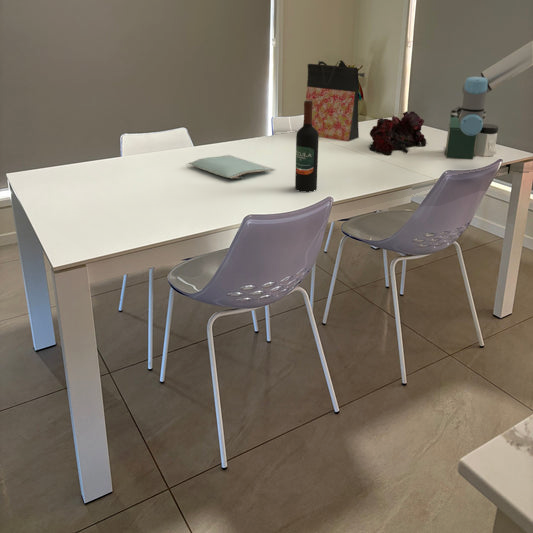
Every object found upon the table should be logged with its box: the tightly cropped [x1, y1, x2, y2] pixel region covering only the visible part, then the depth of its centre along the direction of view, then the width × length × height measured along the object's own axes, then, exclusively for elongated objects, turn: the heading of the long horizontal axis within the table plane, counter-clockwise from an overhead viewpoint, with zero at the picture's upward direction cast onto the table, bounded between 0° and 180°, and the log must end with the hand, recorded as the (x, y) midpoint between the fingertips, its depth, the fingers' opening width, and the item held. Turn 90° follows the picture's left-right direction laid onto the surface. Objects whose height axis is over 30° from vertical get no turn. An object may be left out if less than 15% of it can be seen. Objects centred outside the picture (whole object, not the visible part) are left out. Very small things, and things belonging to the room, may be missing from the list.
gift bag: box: [302, 59, 366, 142], centre depth 274 cm, size 29×14×35 cm, turn 53°
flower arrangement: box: [368, 110, 427, 156], centre depth 259 cm, size 31×20×15 cm, turn 137°
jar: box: [473, 123, 499, 158], centre depth 248 cm, size 9×8×12 cm
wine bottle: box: [294, 100, 320, 193], centre depth 201 cm, size 8×8×30 cm
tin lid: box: [449, 111, 461, 130], centre depth 244 cm, size 13×11×1 cm
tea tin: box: [445, 122, 477, 160], centre depth 247 cm, size 13×11×12 cm
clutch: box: [188, 155, 273, 179], centre depth 228 cm, size 28×4×20 cm
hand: (465, 106), depth 241 cm, fingers closed
